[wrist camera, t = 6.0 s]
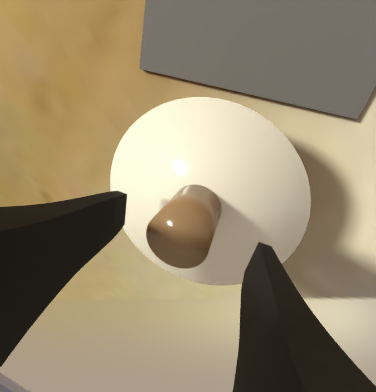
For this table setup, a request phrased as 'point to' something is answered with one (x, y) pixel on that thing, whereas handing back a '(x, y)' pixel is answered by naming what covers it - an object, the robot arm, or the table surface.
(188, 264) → the lid
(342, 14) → the mat
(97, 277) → the table surface
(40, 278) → the robot arm
